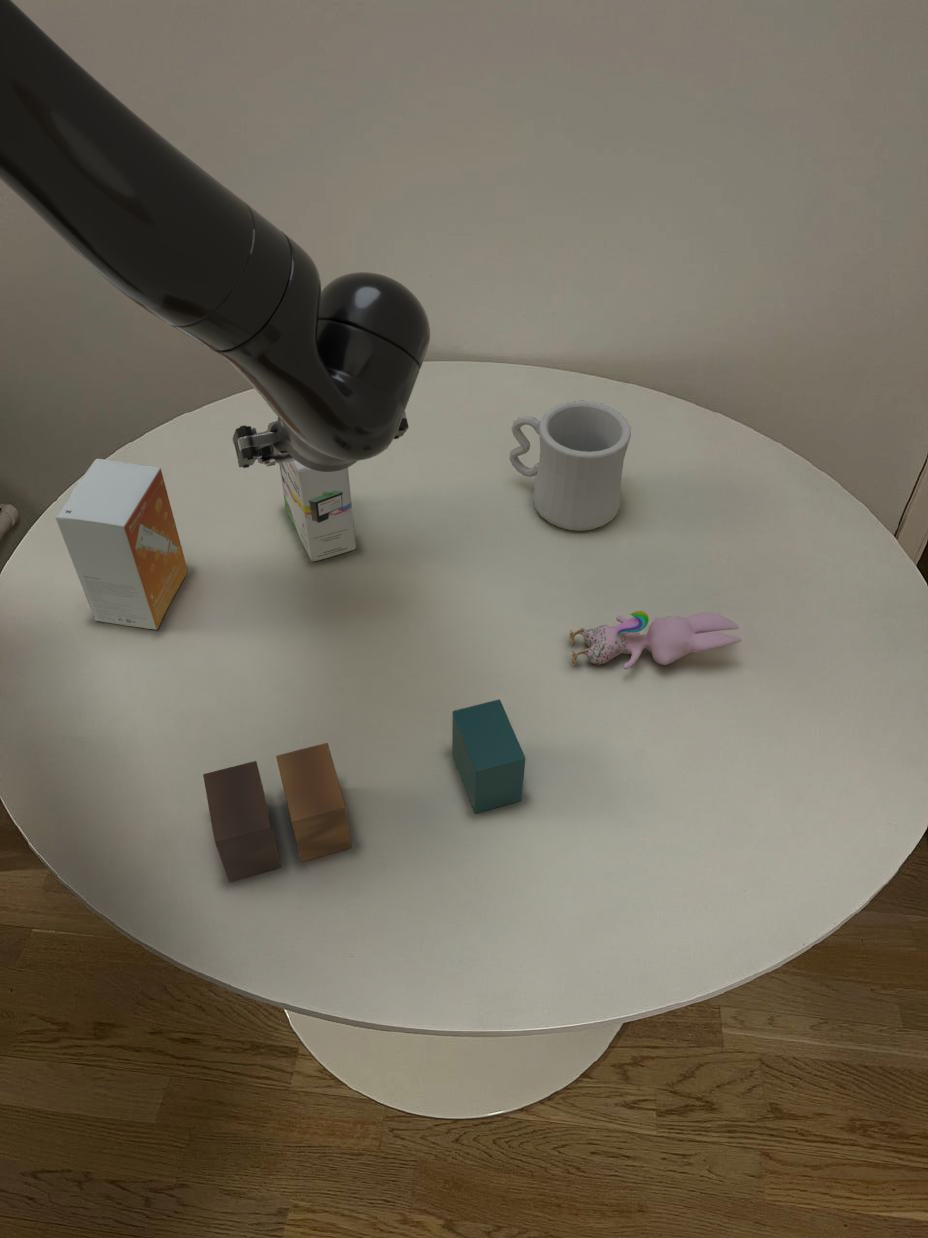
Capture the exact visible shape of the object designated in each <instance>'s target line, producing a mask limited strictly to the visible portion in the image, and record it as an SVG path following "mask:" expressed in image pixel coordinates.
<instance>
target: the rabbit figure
mask: <svg viewBox="0 0 928 1238" xmlns="http://www.w3.org/2000/svg"><path fill="white" fill-rule="evenodd" d="M629 616H632V617H630V618H628V619H626V618H625V617H624V616H622V615H621V614H618V615H616V617H615V619H616V621H617V622H619V624H618V625H617V626H615V627H614V626H612V625H606V624H604V625H599V626H597V627H594V628H588V629H587V628H583V627H581V628H579V629H578V630H576V631H574V632H573V630H571V629H569V632H570V633H569V639H570V643H571V644H570V645H571V646H572V645H573V644H574V641H575V637H576V636H577V635H582V636H583V638H584V640H585V643H586V645H587V646H588V648H583V649H582V650H580V651H578V652H575V651H574V650H571V653H572V654H571V659H572V663H573V664H572V666H576V664H577V659H578V656H580V655H585V656H586V657H587V659H588V660H589V661H590V663H592V665H593V664H594V665H604V664H606V663H608V662H609V661H612V660H613V659H614V658H616V657H617V656H619V655H621V654H626V655H631V657H630V659H629V660H628V661H626V662H625V663H624V664H623V669H624V670H629V669H631V668H632V666H634V665H635V664H636V663H637V661H638V660H639V658H640V657H641V655H642V652H643V649H647V651H648V652H649V653H650V654H651V655H652V658H653V660H654V661H655V662H656V663H657V664H659V665H662V666H667V665H669V664H672V663H674V662H675V661H678V660H679V659H681V658H683V657H684V656H686V655H687V654H690V653H699V652H700V653H701V652H705V651H709V650H713V649H717V648H720V647H724V646H729V645H732V644H737V643H740V642H742V639H743V638H741V637H739V636H736V635H732V634H729V633H724V632H719V631H729V630H738V629H739V628H740V627H739V625H738V624H737V623H735V622H734V621H732V620H731V618H729V617H726V616H724V615H722V614H720V613H716V612H714V613H713V612H697V613H694V614H691V615H689V616H688V617H683V616H677V615H668V616H662V617H657V618H655V619H654V620H653V621H651V622H650V624H649V615H648V614H647V613H646V612H645V611H644V610H643V611H642V610H636V611H634V612H631V613H630V614H629ZM648 625H649V627H648V629H647V632H646V633H645V634H642V633H640V632H641V631H643V630H644V629H646V627H647V626H648Z"/></svg>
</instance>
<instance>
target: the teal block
mask: <svg viewBox="0 0 928 1238" xmlns="http://www.w3.org/2000/svg"><path fill="white" fill-rule="evenodd" d="M451 716H452V718H451V719H452V722H451V723H452V726H451V728H452V729H451V730H452V731H451V732H452V733H451V735H452V736H451V737H452V738H451V740H452V741H451V743H452V744H451V748H452V749H451V752H452V754H451V756H452V757H453V760H454V763H455V766H456V769H457V770H458V773H459V776H460V778H461V781H462V784H463V787H464V790H465V792H466V794H467V797H468V799H469V800H468V801H469V802H470V805H471V808H472V810H473V813H474V814H478V813H483V812H487V811H489V810H492V809H497V808H501V807H505V806H507V805H510V804H511V805H512V804H514V803H518V802H522V798H523V790H524V789H523V788H524V781H525V769H526V756H525V754H524V751H523V749H522V747H521V744H520V742H519V740H518V738H517V735H516V733H515V731H514V728H513V726H512V724H511V722H510V719H509V716H508V714H507V712H506V710H505V707H504V705H503V703H502V701H501V699H500V698H499V699H495V700H490V701H487V702H483V703H479V704H475V705H471V706H467V707H464V708H459V709H456V710H455V709H454V710H453V711H452V714H451Z"/></svg>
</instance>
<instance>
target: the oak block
mask: <svg viewBox="0 0 928 1238" xmlns="http://www.w3.org/2000/svg"><path fill="white" fill-rule="evenodd" d="M330 749H331V748H330V747H329V743H328V742H325V743H320V744H317V745H313V746H309V747H306V748H302V749H301V748H300V749H297V750H293V751H289V752H286V753H281V754H278V755H277V754H276V757H275V759H276V761H277V767H278V772H279V776H280V780H281V784H282V789H283V793H284V797H285V802H286V805H287V806H286V807H287V810H288V815H289V819H290V823H291V827H292V831H293V836H294V839H295V844H296V848H297V853H298V856H299V857H298V858H299V861H300V862H301V863H303V862H306V861H310V860H314V859H317V858H321V857H325V856H328V855H331V854H335V853H340V852H343V851H345V850H350V849H352V841H351V834H350V833H351V832H350V827H349V820H348V814H347V806H346V803H345V799H344V796H343V792H342V789H341V788H342V787H341V786H340V785H341V784H340V782H339V779H338V778H339V777H338V775H337V774H338V773H337V771H336V767H335V764H334V760H333V757H332V753H331V750H330Z"/></svg>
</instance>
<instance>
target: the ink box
mask: <svg viewBox="0 0 928 1238" xmlns="http://www.w3.org/2000/svg"><path fill="white" fill-rule="evenodd" d="M277 420H278V418H274V419H273V420H272V421H271V422H274V421H277ZM278 465H279V472H280V478H281V486H282V491H283V498H284V505H285V511H286V513H287V515H288V517H289V519H290V521H291V523H292V525H293V527H294V529H295V531H296V533H297V535H298V537H299V539H300V541H301V543H302V545H303V547H304V549H305V551H306V553H307V555H308V557H309V560H310V562H317V561H320V560H324V559H325V560H326V559H329V558H331V557H335V556H338V555H342V554H345V553H348V552H351V551H354V550H355V549H356V547H357V543H356V534H355V526H354V515H353V507H352V497H351V484H350V473H349V467H348V468H345V469H343V470H339V471H334V472H321V471H316V470H313V469H310V468H307V467H305V466H303V465H302V464H300V463H299V462H297V461H293V462H288V463H278Z"/></svg>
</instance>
